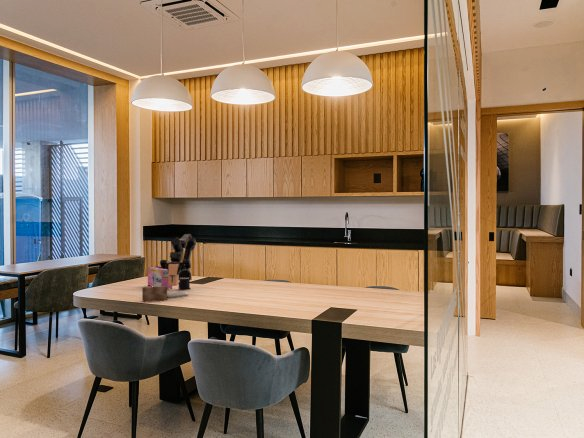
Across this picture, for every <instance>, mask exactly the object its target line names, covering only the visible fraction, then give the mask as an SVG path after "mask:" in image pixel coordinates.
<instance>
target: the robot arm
mask: <svg viewBox="0 0 584 438" xmlns="http://www.w3.org/2000/svg"><path fill="white" fill-rule="evenodd" d="M170 244H171V248H172V250H173V251H171V252H169V258H170V261H169V260H167V259H161V260H160V261H159V265H160V267H161V268H166V269H168V271H169V264H179V268H178V271H177V275H178V274H179V285H178V288H179V290H181V291H182V290H183V291H184V290H190V289H191V288H192V287H190V285H191V284H190V283H191V282H190V281H191V280H192V273H191V270H190V269H191V268H192V263H191V257H192V251H193V250H194V249H196V248H195V247H196V246H197V240H196V238H195V237H193V235H192V234H190V233H185V234H183V236H181V238H180V237H178V236H177V237H174V238H173V239H171V241H170Z"/></svg>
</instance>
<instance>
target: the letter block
mask: <svg viewBox="0 0 584 438" xmlns="http://www.w3.org/2000/svg"><path fill="white" fill-rule="evenodd" d="M178 268H179V264H169V271H168V286H172V287H174V286H175V287H177V286H179V274H178V275H177V271H178Z"/></svg>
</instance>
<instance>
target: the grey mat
mask: <svg viewBox="0 0 584 438" xmlns="http://www.w3.org/2000/svg"><path fill="white" fill-rule="evenodd" d="M183 296H184V297H188V296H189V294H188V293H185V292H181V291H175V292H169V293H168V292H167V297H168V298H167V299H174V298H175V297H176V298H182V297H183ZM184 297H183V298H184Z"/></svg>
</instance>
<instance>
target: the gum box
mask: <svg viewBox="0 0 584 438" xmlns="http://www.w3.org/2000/svg"><path fill="white" fill-rule="evenodd" d="M148 285H150V286H149V287H151V286H153V287H158V286H167V290H169V289H168V288H172V289H173V286H168V269H166V268H161V266H159V265H158V266H157V265H155V266H153V267H150V266H147V286H148Z"/></svg>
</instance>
